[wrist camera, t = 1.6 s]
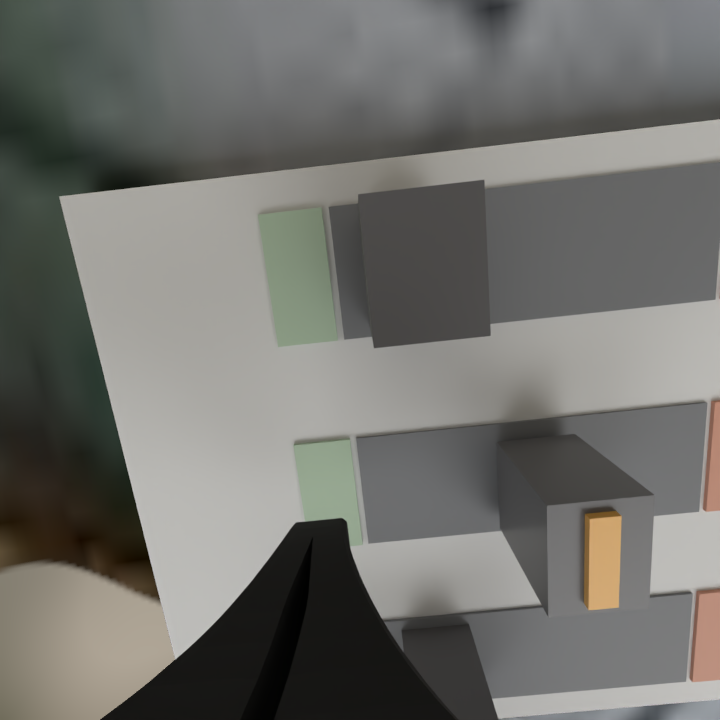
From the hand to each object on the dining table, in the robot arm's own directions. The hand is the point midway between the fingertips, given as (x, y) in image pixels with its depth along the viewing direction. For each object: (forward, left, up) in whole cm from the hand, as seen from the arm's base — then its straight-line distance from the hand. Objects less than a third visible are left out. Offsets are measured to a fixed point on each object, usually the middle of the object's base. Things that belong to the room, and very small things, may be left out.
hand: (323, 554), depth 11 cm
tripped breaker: (0, -6, -3) cm, 7 cm away
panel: (0, -7, -5) cm, 8 cm away
